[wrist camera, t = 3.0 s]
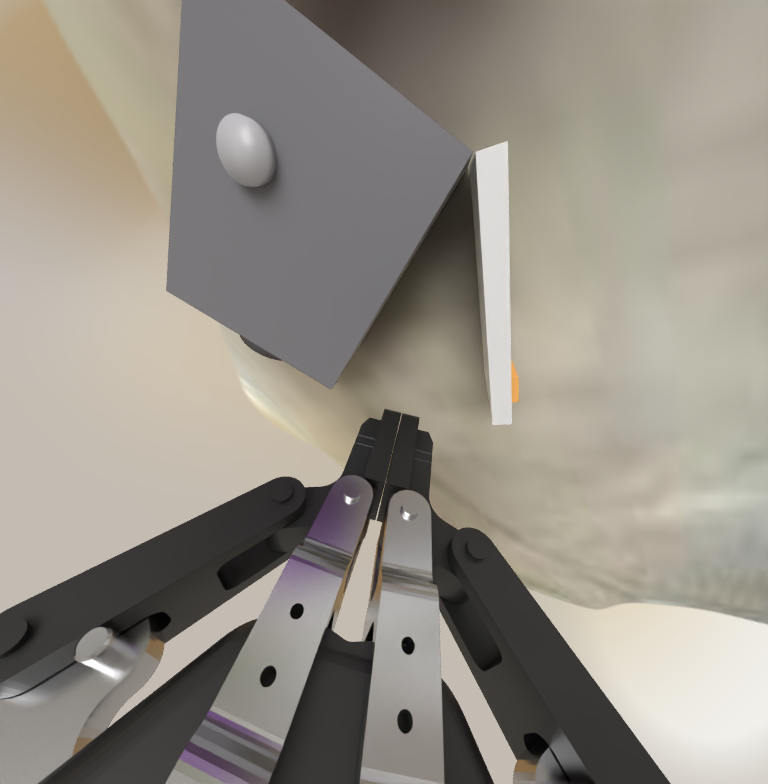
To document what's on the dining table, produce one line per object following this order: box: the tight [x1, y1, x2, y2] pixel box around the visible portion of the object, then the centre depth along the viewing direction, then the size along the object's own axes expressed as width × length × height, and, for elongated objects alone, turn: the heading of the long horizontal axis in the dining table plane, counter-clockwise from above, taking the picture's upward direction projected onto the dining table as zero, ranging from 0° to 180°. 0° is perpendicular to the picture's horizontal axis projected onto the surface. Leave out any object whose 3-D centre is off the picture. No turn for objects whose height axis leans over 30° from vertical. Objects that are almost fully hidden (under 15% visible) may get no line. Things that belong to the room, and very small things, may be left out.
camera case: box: [166, 0, 473, 389], centre depth 14 cm, size 10×13×7 cm
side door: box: [470, 141, 519, 425], centre depth 14 cm, size 2×12×5 cm, turn 15°
